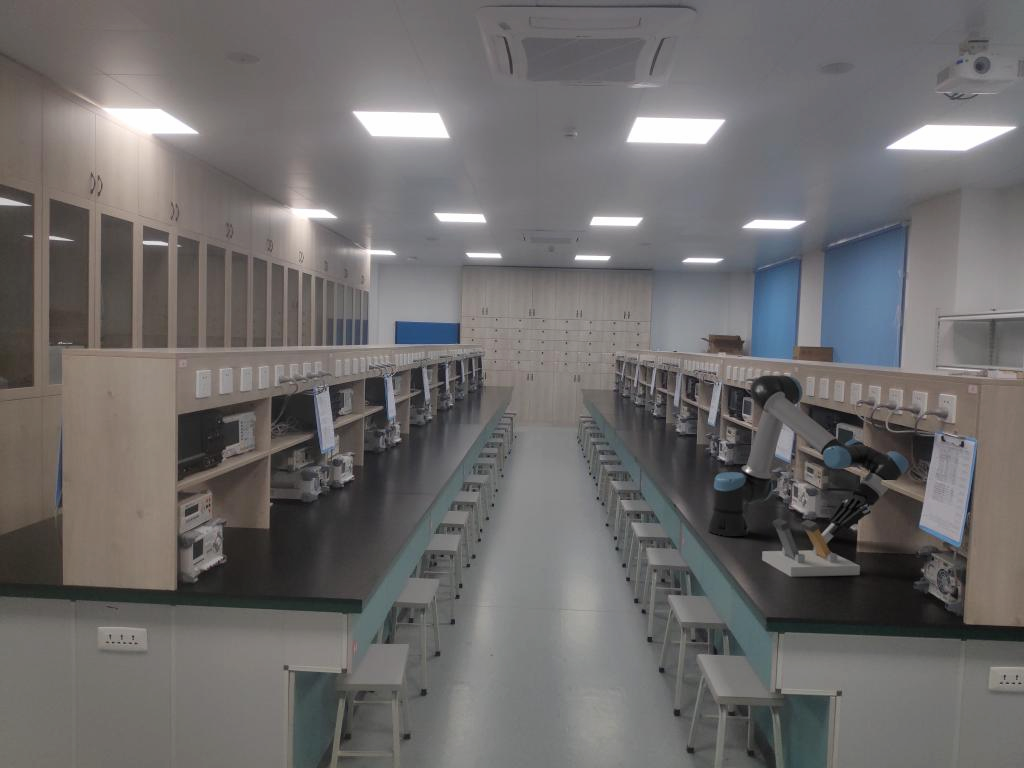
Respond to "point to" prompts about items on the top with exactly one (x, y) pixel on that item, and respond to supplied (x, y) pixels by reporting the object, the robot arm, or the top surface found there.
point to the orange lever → (816, 538)
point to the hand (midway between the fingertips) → (822, 540)
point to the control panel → (810, 564)
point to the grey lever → (786, 537)
